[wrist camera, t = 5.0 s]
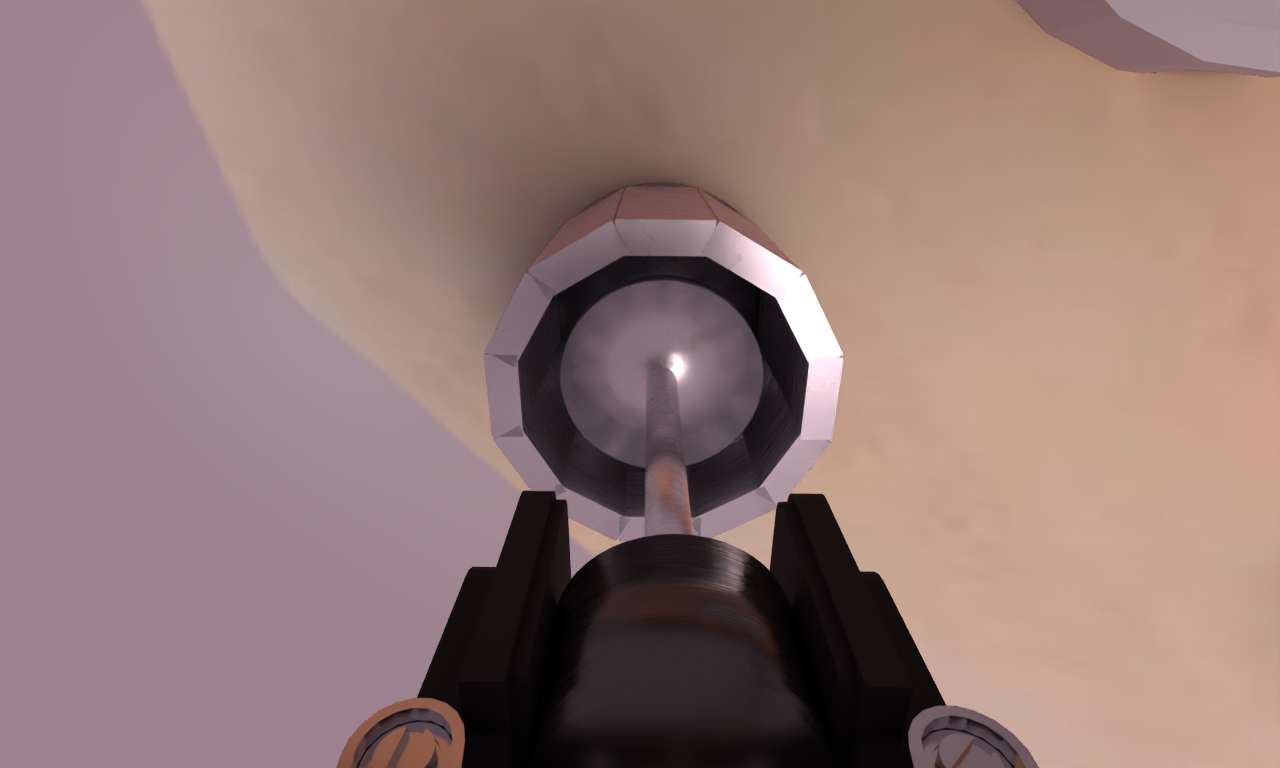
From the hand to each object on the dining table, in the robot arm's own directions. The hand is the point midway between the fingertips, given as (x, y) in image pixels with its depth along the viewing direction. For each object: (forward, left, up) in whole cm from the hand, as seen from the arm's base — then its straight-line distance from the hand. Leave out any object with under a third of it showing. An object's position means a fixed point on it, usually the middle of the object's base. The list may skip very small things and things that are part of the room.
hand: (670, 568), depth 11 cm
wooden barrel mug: (+2, 0, -16) cm, 16 cm away
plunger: (0, 0, -9) cm, 9 cm away
